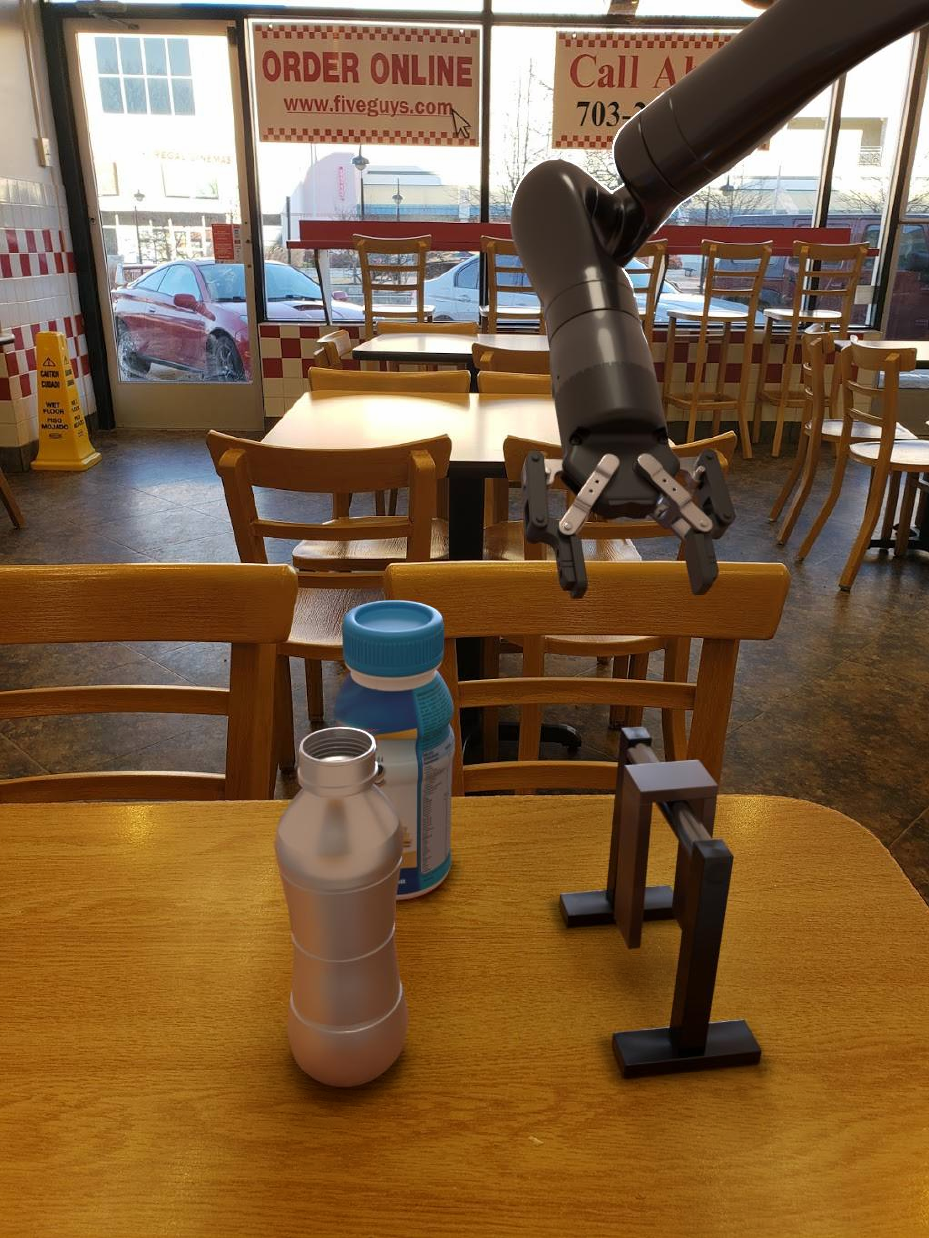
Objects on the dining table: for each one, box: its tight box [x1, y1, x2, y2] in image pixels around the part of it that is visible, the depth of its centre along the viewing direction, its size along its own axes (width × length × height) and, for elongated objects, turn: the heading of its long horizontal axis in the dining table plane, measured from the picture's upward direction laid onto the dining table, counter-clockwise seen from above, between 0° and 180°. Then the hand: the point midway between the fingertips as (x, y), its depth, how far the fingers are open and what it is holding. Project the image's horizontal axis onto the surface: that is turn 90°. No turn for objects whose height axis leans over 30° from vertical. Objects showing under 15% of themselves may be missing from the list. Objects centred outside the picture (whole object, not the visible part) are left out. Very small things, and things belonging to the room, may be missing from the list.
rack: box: [558, 726, 763, 1079], centre depth 57 cm, size 8×15×14 cm, turn 8°
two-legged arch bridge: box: [614, 759, 719, 950], centre depth 56 cm, size 5×3×11 cm, turn 98°
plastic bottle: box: [273, 726, 409, 1088], centre depth 49 cm, size 6×7×20 cm
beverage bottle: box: [333, 599, 456, 901], centre depth 66 cm, size 8×8×20 cm
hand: (642, 592), depth 62 cm, fingers open, 8 cm apart
